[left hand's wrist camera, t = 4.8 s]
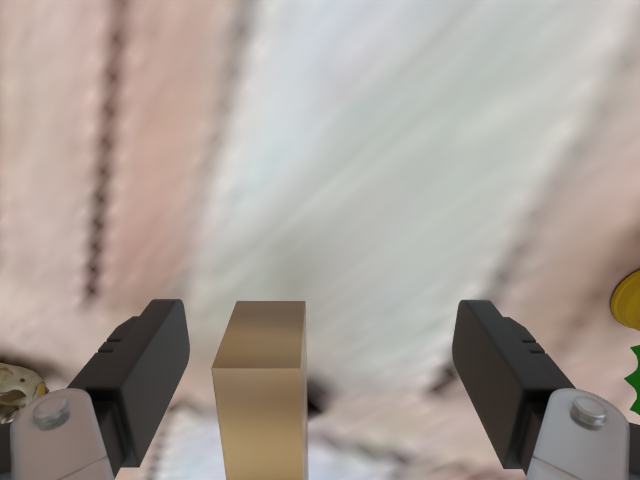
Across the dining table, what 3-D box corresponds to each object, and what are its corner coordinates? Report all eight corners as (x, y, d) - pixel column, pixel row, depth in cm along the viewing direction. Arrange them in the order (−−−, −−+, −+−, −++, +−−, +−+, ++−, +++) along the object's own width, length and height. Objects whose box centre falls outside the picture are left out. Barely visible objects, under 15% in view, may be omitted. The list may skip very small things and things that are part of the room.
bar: (236, 300, 32) (211, 368, 25) (305, 300, 32) (300, 368, 25) (256, 508, 43) (242, 600, 35) (308, 508, 43) (306, 601, 35)
